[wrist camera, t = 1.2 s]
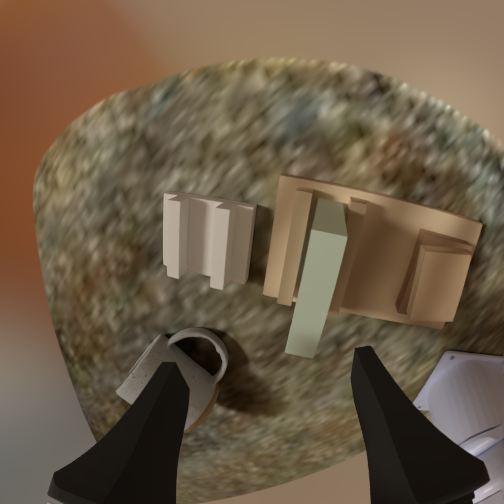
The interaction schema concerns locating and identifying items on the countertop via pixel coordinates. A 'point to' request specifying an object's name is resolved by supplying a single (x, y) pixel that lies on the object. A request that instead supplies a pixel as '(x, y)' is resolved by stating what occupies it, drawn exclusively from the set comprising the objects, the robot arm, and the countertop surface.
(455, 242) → the offcut low
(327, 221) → the pale green square slab
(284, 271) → the rack
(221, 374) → the ceramic mug
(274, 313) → the countertop surface
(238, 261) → the stand
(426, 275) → the offcut top
